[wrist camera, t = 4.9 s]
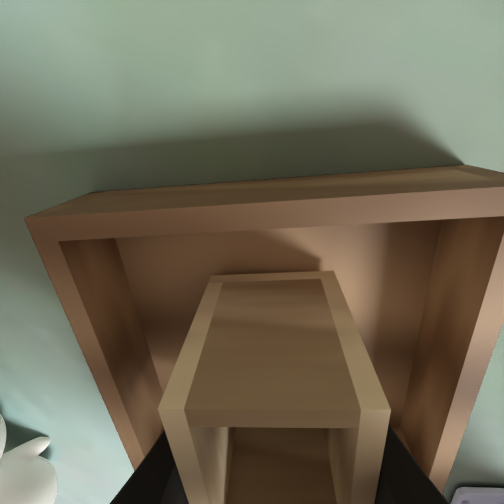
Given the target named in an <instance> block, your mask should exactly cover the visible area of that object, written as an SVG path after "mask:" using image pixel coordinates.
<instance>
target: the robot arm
mask: <svg viewBox="0 0 504 504" xmlns="http://www.w3.org/2000/svg"><path fill="white" fill-rule="evenodd" d="M110 504H189V502H188V499H187V496H186V493H185V490H184V487H183V484H182V481H181V478H180V475H179V472H178V469H177V466H176V463H175V460H174V457H173V454H172V451H171V448H170V445H169V442H168V439H167V436H166V433H165V430H163V431H162V433H161V434H160V436H159V437H158V439H157V440H156V442H155V443H154V445H153V446H152V448H151V449H150V451H149V452H148V454H147V455H146V456H145V458H144V459H143V460H142V462H141V463H140V465H139V466H138V467H137V469H136V470H135V471H134V473H133V474H132V476H131V477H130V478H129V480H128V481H127V482H126V484H125V485H124V486H123V487H122V489H121V490H120V491H119V493H118V494H117V495H116V496H115V498H114V499H113V500H112V501H111V503H110ZM374 504H449V502H448V501H447V500H446V499H445V497H444V496H443V495H442V494H441V493H440V491H439V490H438V489H437V487H436V486H435V485H434V484H433V482H432V481H431V480H430V479H429V477H428V476H427V475H426V474H425V472H424V471H423V470H422V468H421V467H420V466H419V464H418V463H417V462H416V460H415V459H414V458H413V456H412V455H411V454H410V452H409V451H408V449H407V448H406V447H405V445H404V444H403V443H402V441H401V440H400V438H399V437H398V436H397V434H396V433H395V431H394V430H393V428H392V427H391V426H390V424H388V430H387V436H386V441H385V447H384V452H383V458H382V463H381V469H380V475H379V480H378V486H377V491H376V497H375V502H374ZM451 504H504V488H484V487H461V488H458V489H457V490H456V492H455V494H454V497H453V499H452V502H451Z"/></svg>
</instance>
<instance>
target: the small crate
mask: <svg viewBox="0 0 504 504" xmlns="http://www.w3.org/2000/svg"><path fill="white" fill-rule="evenodd" d="M158 411H159V414H160V417H161V421H162V424H163V427H164V430H165V433H166V436H167V439H168V442H169V445H170V448H171V451H172V454H173V457H174V460H175V463H176V466H177V469H178V472H179V475H180V478H181V481H182V484H183V487H184V490H185V493H186V496H187V499H188V502H189V504H374V502H375V497H376V491H377V486H378V480H379V475H380V469H381V463H382V458H383V452H384V447H385V441H386V436H387V430H388V424H389V419H390V413H391V408H390V406H389V404H388V401H387V399H386V396H385V394H384V391H383V389H382V387H381V384H380V382H379V379H378V377H377V374H376V372H375V370H374V367H373V365H372V362H371V360H370V357H369V355H368V353H367V350H366V348H365V345H364V343H363V340H362V338H361V336H360V333H359V331H358V328H357V326H356V323H355V321H354V319H353V316H352V314H351V311H350V309H349V306H348V304H347V302H346V299H345V297H344V294H343V292H342V289H341V287H340V285H339V282H338V280H337V277H336V275H335V272H334V270H332V271H308V272H284V273H260V274H236V275H212V276H211V277H210V279H209V282H208V284H207V287H206V289H205V292H204V294H203V297H202V299H201V302H200V304H199V307H198V309H197V312H196V314H195V317H194V319H193V322H192V324H191V327H190V329H189V332H188V334H187V337H186V339H185V342H184V344H183V347H182V349H181V352H180V354H179V357H178V359H177V362H176V364H175V367H174V369H173V372H172V374H171V377H170V379H169V382H168V384H167V387H166V389H165V392H164V394H163V397H162V399H161V402H160V404H159V407H158Z"/></svg>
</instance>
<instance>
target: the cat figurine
mask: <svg viewBox="0 0 504 504" xmlns="http://www.w3.org/2000/svg"><path fill="white" fill-rule="evenodd" d="M5 443H6V425H5V421H4V419H3V417H2V415H1V414H0V504H56V496H57V487H58V482H57V475H56V471H55V469H54V466H53V465H52V464H51V463H50V462H49V461H48V460H47V459H45V458H43V457H41V456H38V455H39V454H40V453H41V452H42V451H44V450H45V448H46V447H47V446H48V445H49V444H50V439H49V437H37V438H35V439H33V440H30V441H28V442H25V443H23V444H22V445H20V446H18V447H16V448H14V449H12V450H10V451H8V452H6V453H4V454H3V451H4V447H5Z"/></svg>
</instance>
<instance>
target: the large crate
mask: <svg viewBox="0 0 504 504" xmlns="http://www.w3.org/2000/svg"><path fill="white" fill-rule="evenodd" d="M24 220H25V222H26V224H27V227H28V229H29V231H30V234H31V236H32V238H33V240H34V243H35V245H36V247H37V250H38V252H39V254H40V256H41V259H42V261H43V263H44V266H45V268H46V270H47V272H48V275H49V277H50V279H51V281H52V284H53V286H54V288H55V291H56V293H57V295H58V297H59V300H60V302H61V304H62V307H63V309H64V311H65V313H66V316H67V318H68V320H69V323H70V325H71V327H72V329H73V332H74V334H75V336H76V339H77V341H78V343H79V345H80V348H81V350H82V352H83V355H84V357H85V359H86V361H87V364H88V366H89V368H90V370H91V373H92V375H93V377H94V380H95V382H96V384H97V386H98V389H99V391H100V393H101V396H102V398H103V400H104V402H105V405H106V407H107V409H108V412H109V414H110V416H111V418H112V421H113V423H114V425H115V428H116V430H117V432H118V434H119V437H120V439H121V441H122V444H123V446H124V448H125V450H126V453H127V455H128V457H129V459H130V462H131V464H132V466H133V469H134V471H135V470H136V469H137V467H138V466H139V465H140V463H141V462H142V460H143V459H144V458H145V456H146V455H147V454H148V452H149V451H150V449H151V448H152V446H153V445H154V443H155V442H156V440H157V439H158V437H159V436H160V434H161V433H162V431H163V430H164V427H163V424H162V421H161V417H160V414H159V411H158V407H159V404H160V402H161V399H162V397H163V394H164V392H165V389H166V387H167V384H168V382H169V379H170V377H171V374H172V372H173V369H174V367H175V364H176V362H177V359H178V357H179V354H180V352H181V349H182V347H183V344H184V342H185V339H186V337H187V334H188V332H189V329H190V327H191V324H192V322H193V319H194V317H195V314H196V312H197V309H198V307H199V304H200V302H201V299H202V297H203V294H204V292H205V289H206V287H207V284H208V282H209V279H210V277H211V276H212V275H236V274H260V273H284V272H308V271H332V270H334V272H335V275H336V277H337V280H338V282H339V285H340V287H341V289H342V292H343V294H344V297H345V299H346V302H347V304H348V306H349V309H350V311H351V314H352V316H353V319H354V321H355V323H356V326H357V328H358V331H359V333H360V336H361V338H362V340H363V343H364V345H365V348H366V350H367V353H368V355H369V357H370V360H371V362H372V365H373V367H374V370H375V372H376V374H377V377H378V379H379V382H380V384H381V387H382V389H383V391H384V394H385V396H386V399H387V401H388V404H389V406H390V408H391V413H390V419H389V424H390V426H391V427H392V428H393V430H394V431H395V433H396V434H397V436H398V437H399V438H400V440H401V441H402V443H403V444H404V445H405V447H406V448H407V449H408V451H409V452H410V454H411V455H412V456H413V458H414V459H415V460H416V462H417V463H418V464H419V466H420V467H421V468H422V470H423V471H424V472H425V474H426V475H427V476H428V477H429V479H430V480H431V481H432V482H433V484H434V485H435V486H436V487H437V489H438V490H439V491H440V493H441V494H443V491H444V488H445V485H446V483H447V480H448V477H449V474H450V471H451V468H452V466H453V463H454V460H455V457H456V454H457V451H458V449H459V446H460V443H461V440H462V437H463V435H464V432H465V429H466V426H467V423H468V420H469V418H470V415H471V412H472V409H473V406H474V404H475V401H476V398H477V395H478V392H479V389H480V387H481V384H482V381H483V378H484V375H485V373H486V370H487V367H488V364H489V361H490V358H491V356H492V353H493V350H494V347H495V344H496V342H497V339H498V336H499V333H500V330H501V327H502V325H503V322H504V173H502V172H498V171H493V170H489V169H484V168H479V167H475V166H470V165H454V166H441V167H427V168H414V169H400V170H386V171H373V172H359V173H346V174H332V175H319V176H305V177H291V178H278V179H264V180H251V181H237V182H223V183H210V184H196V185H183V186H169V187H155V188H142V189H128V190H115V191H101V192H91V193H88V194H85V195H83V196H80V197H78V198H75V199H72V200H70V201H67V202H65V203H62V204H59V205H57V206H54V207H52V208H49V209H46V210H44V211H41V212H39V213H36V214H33V215H31V216H28V217H26V218H24Z"/></svg>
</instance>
